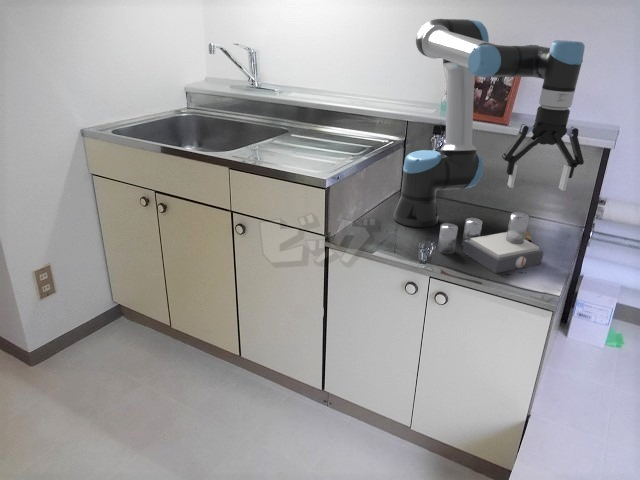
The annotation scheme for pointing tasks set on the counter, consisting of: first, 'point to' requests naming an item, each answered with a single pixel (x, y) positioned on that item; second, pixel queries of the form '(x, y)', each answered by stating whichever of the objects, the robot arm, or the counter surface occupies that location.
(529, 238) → the filled bread boat
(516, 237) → the cylinder
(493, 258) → the scale
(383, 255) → the counter surface
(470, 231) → the cylinder
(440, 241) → the cylinder
